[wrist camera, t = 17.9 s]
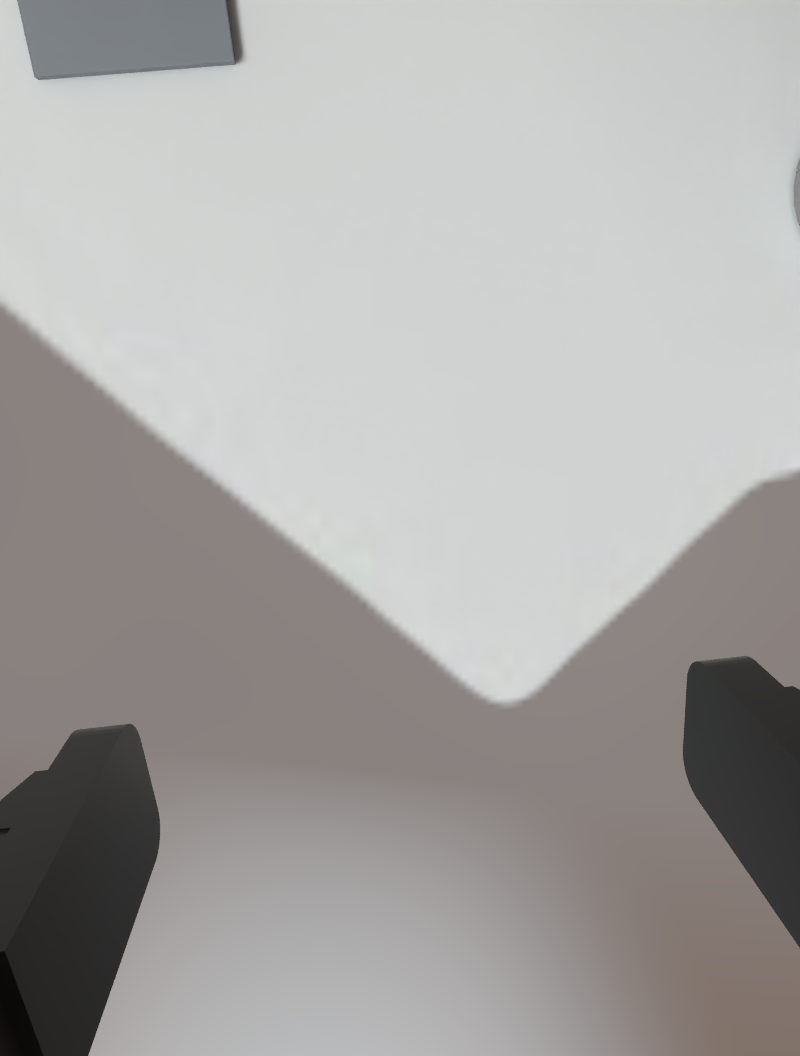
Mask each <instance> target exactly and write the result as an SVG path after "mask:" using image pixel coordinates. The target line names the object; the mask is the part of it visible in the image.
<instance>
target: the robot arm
mask: <svg viewBox="0 0 800 1056" xmlns="http://www.w3.org/2000/svg"><path fill="white" fill-rule="evenodd" d="M794 205H795V210H796V215H797V220H798V223H799V225H800V161H799V164H798V167H797V173H796V178H795V184H794ZM684 725H685V726H684V741H683V742H684V743H683V760H684V766H685V771H686V774H687V778H688V781H689V784H690V786H691V788H692V790H693V792H694V794H695V796H696V798H697V799H698V800H699V802H700V804H701V805H702V806H703V808H704V809H705V811H706V812H707V813H708V815H709V816H710V818H711V819H712V821H713V822H714V824H715V825H716V827H717V828H718V830H719V831H720V833H721V834H722V835H723V837H724V838H725V840H726V841H727V843H728V844H729V846H730V847H731V848H732V850H733V851H734V853H735V854H736V856H737V857H738V859H739V860H740V861H741V863H742V865H743V866H744V867H745V869H746V870H747V872H748V873H749V874H750V876H751V878H752V879H753V880H754V882H755V883H756V885H757V886H758V888H759V889H760V891H761V892H762V894H763V895H764V896H765V898H766V899H767V901H768V902H769V904H770V905H771V907H772V908H773V909H774V911H775V912H776V914H777V915H778V917H779V918H780V920H781V921H782V923H783V924H784V925H785V927H786V928H787V930H788V931H789V933H790V934H791V936H792V937H793V938H794V940H795V941H796V943H797V944H798V946H799V947H800V690H799V689H797V688H795V687H793V686H791V687H784V686H783V685H781V684H780V683H779V682H778V681H777V680H776V679H775V678H774V677H772V676H771V675H770V674H769V673H768V672H767V671H766V670H765V669H764V668H762V667H761V666H760V665H759V664H758V663H757V662H756V661H755V660H753V659H752V658H750V657H747V656H741V657H732V658H723V659H714V660H705V661H697V662H694V663H692V664H691V666H690V668H689V671H688V675H687V689H686V708H685V724H684ZM159 840H160V819H159V812H158V808H157V804H156V800H155V796H154V792H153V788H152V784H151V780H150V776H149V772H148V768H147V763H146V759H145V755H144V751H143V748H142V743H141V739H140V736H139V734H138V731H137V730H136V728H135V727H134V726H133V725H132V724H124V725H116V726H107V727H98V728H90V729H80V730H76V731H74V732H73V733H72V734H71V735H70V737H69V738H68V740H67V741H66V743H65V744H64V746H63V748H62V749H61V750H60V752H59V754H58V755H57V757H56V758H55V760H54V761H53V763H52V765H51V766H50V768H49V769H48V770H44V771H35V772H34V773H33V774H32V775H30V776H29V777H28V778H27V779H26V780H24V781H23V782H22V783H21V784H20V785H18V787H16V788H15V789H14V790H12V791H11V792H10V793H9V794H8V795H6V796H5V797H4V798H3V799H2V800H1V801H0V1056H88V1054H89V1052H90V1049H91V1046H92V1043H93V1040H94V1037H95V1034H96V1031H97V1029H98V1026H99V1023H100V1020H101V1017H102V1014H103V1011H104V1008H105V1005H106V1003H107V1000H108V997H109V994H110V991H111V988H112V985H113V982H114V980H115V977H116V974H117V971H118V968H119V965H120V962H121V959H122V957H123V954H124V951H125V948H126V945H127V942H128V939H129V936H130V933H131V930H132V928H133V925H134V922H135V919H136V916H137V913H138V910H139V908H140V904H141V901H142V899H143V896H144V893H145V890H146V887H147V885H148V882H149V878H150V876H151V873H152V870H153V867H154V864H155V861H156V858H157V854H158V849H159Z"/></svg>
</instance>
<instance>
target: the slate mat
mask: <svg viewBox="0 0 800 1056" xmlns="http://www.w3.org/2000/svg"><path fill="white" fill-rule="evenodd" d="M17 1H18V5H19V10H20V14H21V19H22V23H23V28H24V32H25V37H26V41H27V45H28V50H29V54H30V59H31V63H32V68H33V72H34V77H35V78H37V79H38V80H43V79H56V78H69V77H81V76H94V75H107V74H119V73H132V72H145V71H158V70H170V69H183V68H196V67H208V66H221V65H234V64H235V57H234V50H233V43H232V36H231V29H230V22H229V15H228V8H227V1H226V0H17Z"/></svg>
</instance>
